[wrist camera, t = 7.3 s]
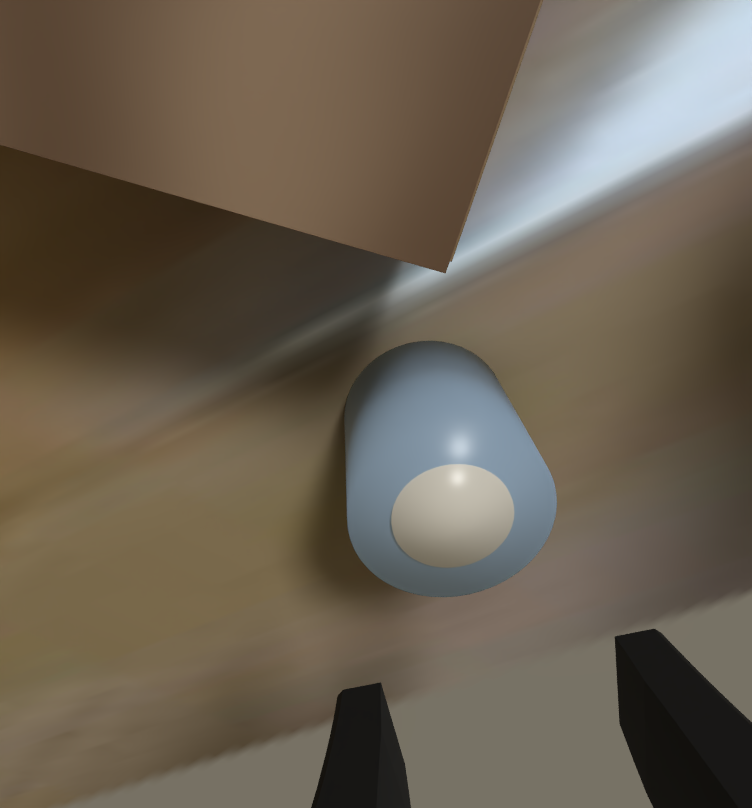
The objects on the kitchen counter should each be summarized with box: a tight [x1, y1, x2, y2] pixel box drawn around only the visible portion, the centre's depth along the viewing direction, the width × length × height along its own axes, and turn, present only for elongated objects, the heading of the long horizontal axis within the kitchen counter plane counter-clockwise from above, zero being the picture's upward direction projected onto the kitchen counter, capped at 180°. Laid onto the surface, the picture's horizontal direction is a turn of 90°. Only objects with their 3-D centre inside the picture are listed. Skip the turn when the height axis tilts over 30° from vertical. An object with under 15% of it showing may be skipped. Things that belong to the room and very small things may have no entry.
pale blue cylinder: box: [344, 341, 557, 597], centre depth 17 cm, size 5×5×5 cm
